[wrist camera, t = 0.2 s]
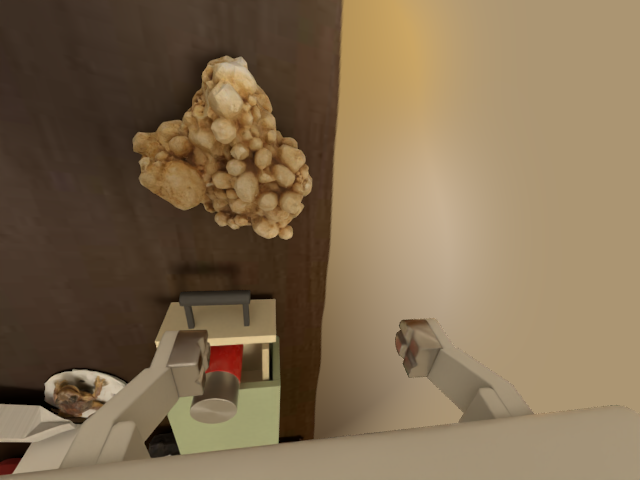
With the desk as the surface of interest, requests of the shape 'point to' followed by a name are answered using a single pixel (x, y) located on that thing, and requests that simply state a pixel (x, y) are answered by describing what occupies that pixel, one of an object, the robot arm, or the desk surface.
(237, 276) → the desk surface
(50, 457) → the milk carton
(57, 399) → the plate of food
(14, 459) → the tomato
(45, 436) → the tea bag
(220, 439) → the cabinet
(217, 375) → the tin can
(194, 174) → the mineral formation
